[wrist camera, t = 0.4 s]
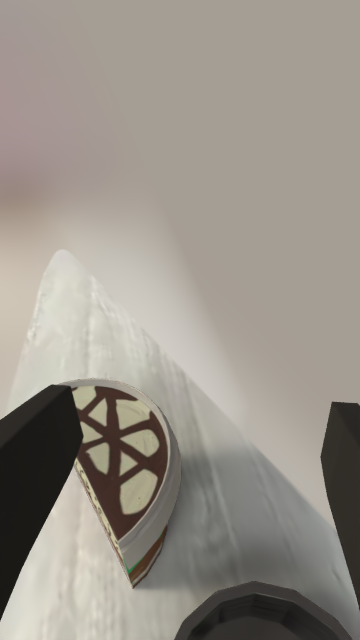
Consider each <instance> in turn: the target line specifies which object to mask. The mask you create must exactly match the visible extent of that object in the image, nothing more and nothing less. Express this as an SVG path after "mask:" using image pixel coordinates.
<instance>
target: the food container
mask: <svg viewBox="0 0 360 640" xmlns="http://www.w3.org/2000/svg"><path fill="white" fill-rule="evenodd" d="M57 385H67V386H71V389H72V393H73V397H74V401H75V404H76V408H77V412H78V416H79V420H80V424H81V427H82V431H83V435H84V437H83V440H82V443H81V446H80V449H79V452H78V455H77V457H76V460H75V462H74V467H75V470H76V472H77V474H78V477H79V479H80V481H81V483H82V485H83V487H84V489H85V491H86V493H87V495H88V497H89V500H90V502H91V504H92V506H93V508H94V510H95V512H96V514H97V516H98V518H99V520H100V522H101V524H102V526H103V529H104V531H105V533H106V535H107V537H108V539H109V541H110V543H111V545H112V547H113V549H114V551H115V553H116V555H117V557H118V560H119V562H120V564H121V566H122V568H123V570H124V572H125V574H126V576H127V578H128V580H129V582H130V584H131V586H132V589H133V588H134V587H135V586H136V585H137V584H138V583H139V582H140V581H141V580H142V579H143V578H144V577H145V576H146V575H147V574H148V572H149V571H150V569H151V567H152V566H153V564H154V563H155V561H156V559H157V558H158V556H159V554H160V552H161V549H162V545H163V542H164V538H165V535H166V531H167V523H168V521H169V519H170V516H171V514H172V511H173V509H174V507H175V504H176V501H177V497H178V493H179V489H180V482H181V456H180V451H179V447H178V443H177V440H176V438H175V436H174V434H173V431H172V429H171V427H170V425H169V423H168V420H167V418H166V417H165V416H164V414H163V413H162V411H161V410H160V408H159V407H158V406H157V405H156V404H155V403H154V402H153V401H152V400H151V399H149V398H148V396H146V395H145V394H143V393H142V392H141V391H139V390H138V389H136V388H134V387H132V386H130V385H128V384H125V383H121V382H118V381H114V380H108V379H96V378H90V379H78V380H73V381H68V382H64V383H61V384H57Z"/></svg>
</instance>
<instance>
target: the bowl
mask: <svg viewBox="0 0 360 640" xmlns="http://www.w3.org/2000/svg"><path fill="white" fill-rule="evenodd" d="M174 640H353V639H352V638H351V637H350V635H349V634H348V633H347V632H346V630H345V629H344V628H343V627H342V625H341V624H340V623H339V622H338V620H336V619H335V618H334V617H333V616H332V615H330V614H329V613H327V612H326V611H324V610H323V609H321V608H320V607H318V606H317V605H316V604H314V603H313V602H311V601H310V600H308V599H307V598H305V597H304V596H303V595H301V594H300V593H298V592H297V591H294V590H292V589H288V588H283V587H279V586H274V585H270V584H265V583H261V582H256V581H252V582H248V583H245V584H241V585H237V586H233V587H230V588H226V589H222V590H218V591H217V592H215V593H214V594H212V595H211V596H210V597H209V598H208V599H207V600H206V601H205V602H204V603H202V604H201V605H200V606H199V607H198V608H197V609H196V610H195V611H194V612H193V613H191V614H190V615H189V616H188V617H187V618H186V619H185V620H184V621H183V623H182V625H181V627H180V629H179V631H178V633H177V635H176V637H175V639H174Z"/></svg>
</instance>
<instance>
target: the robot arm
mask: <svg viewBox="0 0 360 640" xmlns="http://www.w3.org/2000/svg"><path fill="white" fill-rule="evenodd" d="M83 437H84V435H83V431H82V427H81V424H80V420H79V416H78V412H77V408H76V404H75V401H74V397H73V393H72V389H71V386H67V385H50V386H48V387H47V388H45V389H44V390H42V391H41V392H39V393H38V394H36V395H35V396H33V397H32V398H31V399H29V400H28V401H26V402H25V403H24V404H22V405H21V406H19V407H18V408H16V409H15V410H14V411H12V412H11V413H9V414H8V415H7V416H5V417H4V418H2V419H1V420H0V620H1V618H2V615H3V613H4V610H5V608H6V605H7V603H8V601H9V598H10V596H11V593H12V591H13V589H14V586H15V584H16V581H17V579H18V576H19V574H20V572H21V569H22V567H23V565H24V563H25V561H26V559H27V557H28V555H29V552H30V550H31V548H32V546H33V544H34V543H35V541H36V539H37V537H38V535H39V533H40V531H41V529H42V527H43V525H44V523H45V521H46V519H47V517H48V515H49V513H50V512H51V510H52V508H53V506H54V504H55V502H56V500H57V498H58V496H59V494H60V492H61V490H62V488H63V486H64V484H65V482H66V480H67V478H68V476H69V474H70V472H71V470H72V468H73V465H74V462H75V460H76V457H77V455H78V452H79V449H80V446H81V443H82V440H83ZM321 463H322V469H323V476H324V481H325V487H326V492H327V497H328V501H329V505H330V508H331V512H332V515H333V519H334V522H335V526H336V529H337V533H338V536H339V539H340V543H341V546H342V550H343V553H344V556H345V560H346V563H347V567H348V570H349V574H350V577H351V580H352V584H353V587H354V591H355V594H356V597H357V601H358V605H359V609H360V406H359V404H357V403H344V402H343V403H342V402H332V404H331V409H330V414H329V419H328V423H327V429H326V433H325V438H324V443H323V448H322V453H321Z"/></svg>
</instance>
